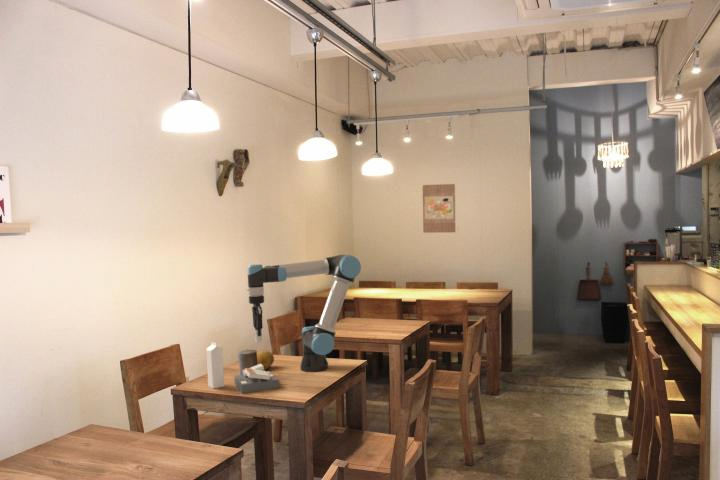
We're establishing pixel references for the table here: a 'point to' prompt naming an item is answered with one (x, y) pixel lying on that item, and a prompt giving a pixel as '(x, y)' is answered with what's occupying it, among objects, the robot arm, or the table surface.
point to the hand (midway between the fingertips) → (258, 341)
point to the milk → (215, 366)
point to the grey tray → (255, 383)
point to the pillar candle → (247, 359)
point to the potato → (265, 358)
